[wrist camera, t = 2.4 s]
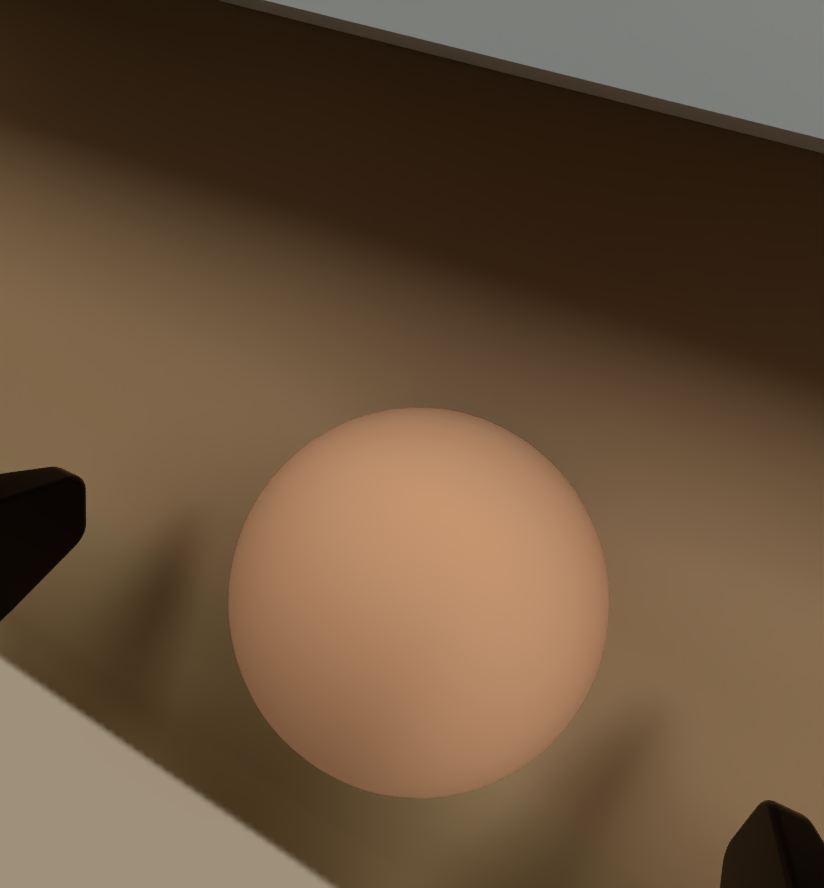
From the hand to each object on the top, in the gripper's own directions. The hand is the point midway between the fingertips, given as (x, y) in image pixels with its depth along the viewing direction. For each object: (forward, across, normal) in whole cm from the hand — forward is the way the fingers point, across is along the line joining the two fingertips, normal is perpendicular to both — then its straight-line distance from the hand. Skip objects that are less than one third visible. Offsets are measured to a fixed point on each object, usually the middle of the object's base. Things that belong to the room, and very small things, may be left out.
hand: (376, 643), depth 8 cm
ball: (+1, 0, 0) cm, 1 cm away
